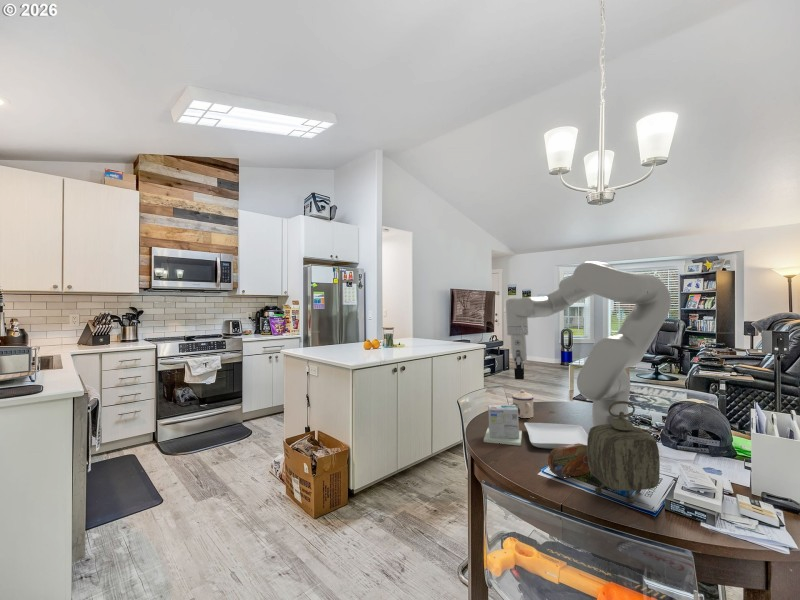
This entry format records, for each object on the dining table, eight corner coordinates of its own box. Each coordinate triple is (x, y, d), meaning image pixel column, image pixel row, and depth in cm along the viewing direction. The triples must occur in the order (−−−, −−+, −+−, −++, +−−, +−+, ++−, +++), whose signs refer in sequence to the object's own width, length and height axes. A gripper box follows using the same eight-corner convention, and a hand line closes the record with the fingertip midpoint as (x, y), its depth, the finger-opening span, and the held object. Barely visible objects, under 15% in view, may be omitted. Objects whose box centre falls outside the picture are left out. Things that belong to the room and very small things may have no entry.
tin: (554, 480, 107) (552, 451, 107) (546, 476, 110) (545, 447, 110) (596, 472, 111) (595, 443, 111) (588, 468, 114) (587, 440, 114)
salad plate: (598, 455, 125) (597, 445, 125) (531, 451, 129) (530, 441, 129) (580, 433, 145) (580, 424, 146) (523, 430, 150) (523, 422, 150)
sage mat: (520, 445, 133) (520, 442, 133) (483, 441, 138) (483, 439, 138) (521, 433, 146) (521, 430, 146) (487, 430, 150) (487, 427, 150)
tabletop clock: (640, 488, 102) (637, 396, 102) (665, 507, 92) (662, 405, 93) (587, 491, 101) (585, 398, 101) (607, 509, 92) (604, 407, 92)
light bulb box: (516, 432, 144) (516, 404, 144) (519, 439, 137) (519, 409, 137) (488, 431, 145) (487, 404, 146) (489, 438, 139) (489, 408, 139)
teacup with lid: (509, 413, 171) (508, 388, 171) (528, 412, 172) (527, 387, 172) (520, 422, 159) (519, 394, 159) (540, 420, 160) (540, 393, 160)
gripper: (528, 332, 131) (530, 381, 131) (527, 329, 148) (529, 373, 147) (506, 332, 134) (508, 381, 133) (508, 329, 150) (510, 372, 150)
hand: (519, 376), depth 140 cm, fingers open, 9 cm apart
